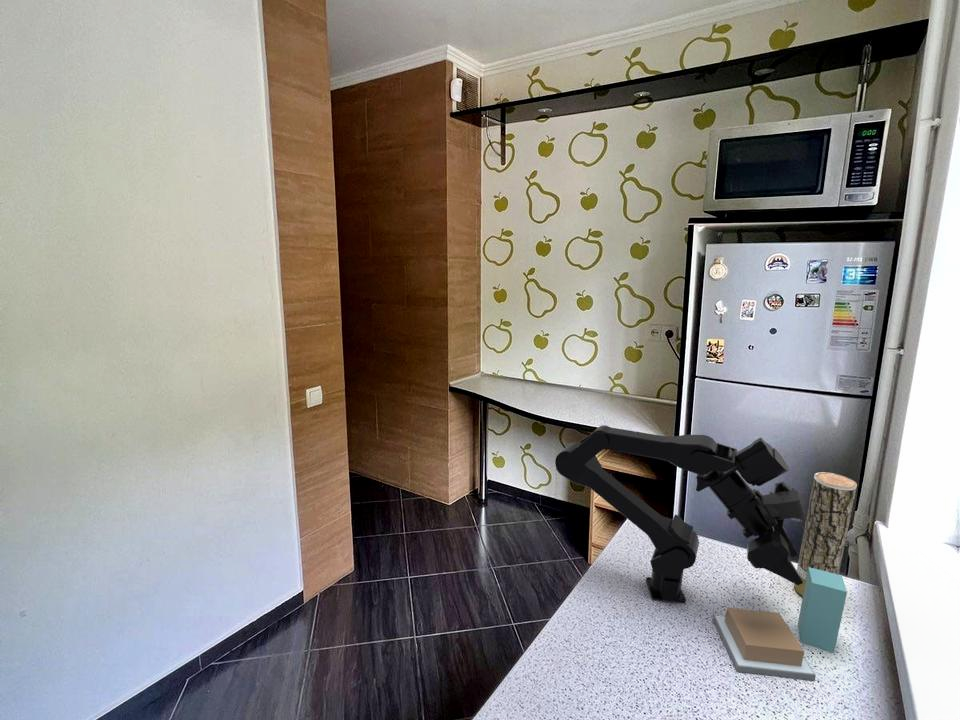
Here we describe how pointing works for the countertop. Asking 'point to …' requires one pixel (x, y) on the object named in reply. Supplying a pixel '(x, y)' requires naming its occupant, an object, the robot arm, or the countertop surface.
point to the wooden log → (826, 525)
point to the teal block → (821, 609)
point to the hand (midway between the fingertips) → (797, 569)
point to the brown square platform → (762, 644)
